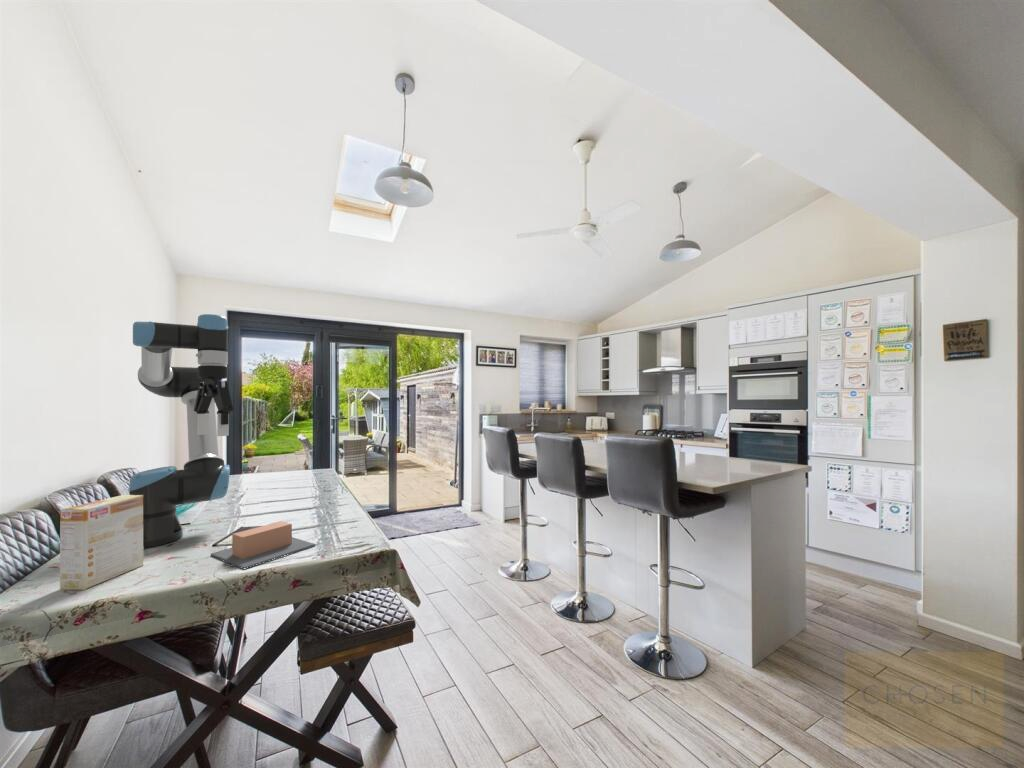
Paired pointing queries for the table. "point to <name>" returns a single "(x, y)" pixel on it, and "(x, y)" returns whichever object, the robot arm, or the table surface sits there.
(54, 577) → the table surface
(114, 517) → the coffeecake box
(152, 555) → the table surface
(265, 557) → the rubber mat
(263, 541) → the wooden block
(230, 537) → the chocolate bar
